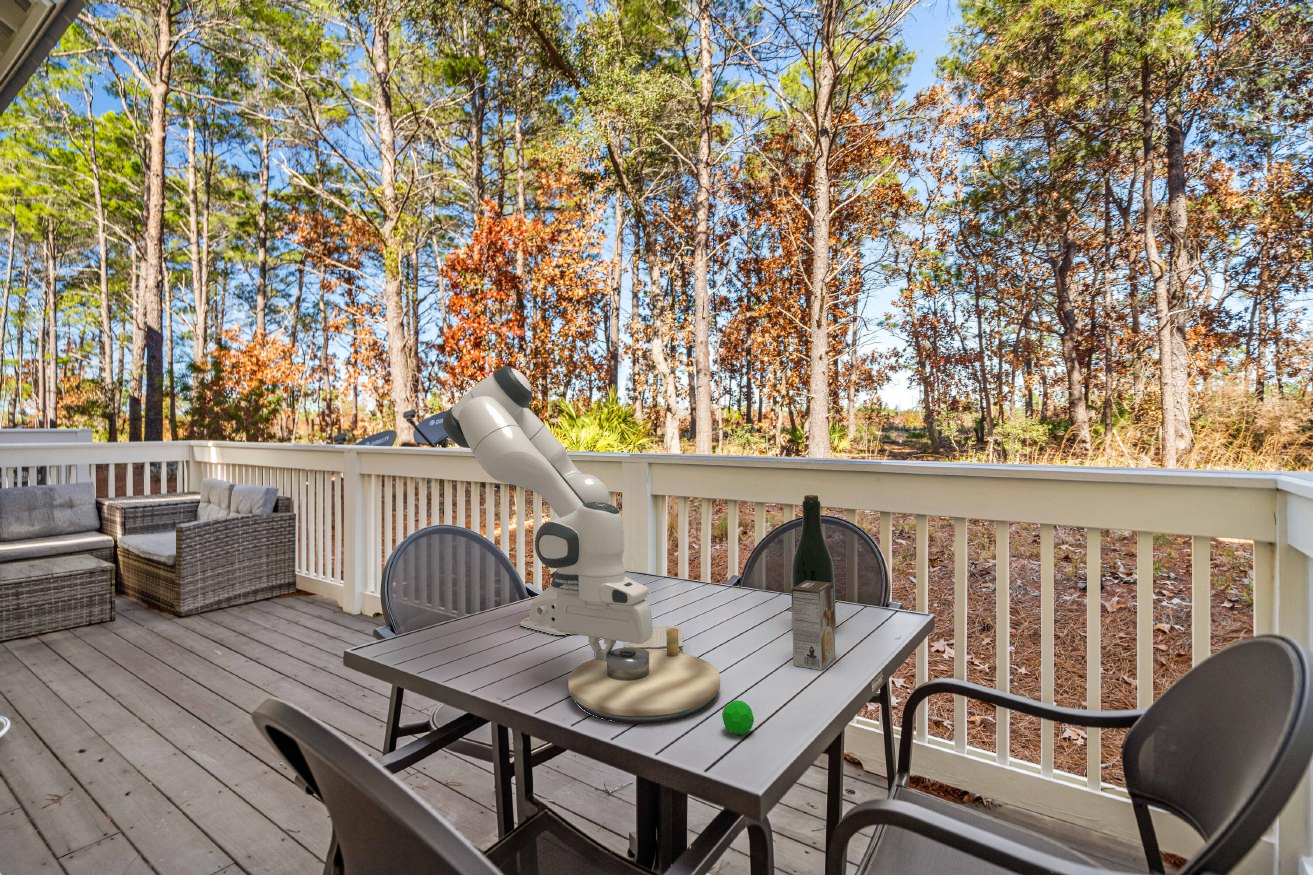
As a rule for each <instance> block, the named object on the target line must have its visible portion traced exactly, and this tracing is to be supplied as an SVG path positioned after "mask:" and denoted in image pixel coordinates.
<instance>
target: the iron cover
mask: <svg viewBox="0 0 1313 875" xmlns="http://www.w3.org/2000/svg"><path fill="white" fill-rule="evenodd" d="M648 675H649V652H648V651H647V650H645V649H642V648H636V647H624V646H623V647H618V648H615V649H612V650H611V651H610V652H608V653H607V676H608V677H610V678H612V679H615V680H620V681H632V680H638V679H642V678H644V677H646V676H648Z"/></svg>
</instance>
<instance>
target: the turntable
mask: <svg viewBox="0 0 1313 875" xmlns="http://www.w3.org/2000/svg"><path fill="white" fill-rule="evenodd" d="M666 634H667V651H648V652H649V675H648V676H646V677H644V678H642V679H638V680H632V681H620V680H615V679H612V678H610V677H608V676H607V662H604V661H599V660H594V658H593V659H590V660H588V661H586V662H583V663H582V664H580V665H579V666H576V667H575V668H574V669H573V670H572V671H571V673H570V674H569V676H568V680H567V681H568V682H567V683H568V686H567V687H568V694H569V695H570V697H571V698H572V700H574V702H575V701H576V702H578V703H579V704H581V705H583V706H585V707H587V708H590V709H593V710H596V711H599V712H603V713H608V714H614V715H623V716H656V715H665V714H672V713H677V712H682V711H685V710H689V709H692V708H695V707H698V706H700V705H702V704H704V703H706V702H708V701H709V700H711V699H712V698H713V697H714V696H716V695H717V694H718V693H719V691H720V688H721V674H720V671H719V669H717V668H716V667H715V665H713V664H712V663H710V662H709V661H707V660H704V659H702V658H700V657H696V656H693V655H690V654H686V653H683V652H682V653H679V647H678V629H675V628H670V629H667V630H666ZM714 698H715V697H714Z"/></svg>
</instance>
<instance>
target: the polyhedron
mask: <svg viewBox="0 0 1313 875" xmlns="http://www.w3.org/2000/svg"><path fill="white" fill-rule="evenodd" d="M721 716H722V721H723V725H724V728H725V729H726V730H727V731H728V732H729V733H731V734H733V735H738V736H742V735H744V734H746V733H747V732H748V731H750V730H751V729H752V728H753V725H754V721H755V718H754V714H753V711H752V708H751V707H750V705H748V704H747V703H746V702H745V701H743V700H733V701H731V702H730V703H729V704H727V705H726V706H724V707H723V710H722V713H721Z"/></svg>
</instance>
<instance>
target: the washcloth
mask: <svg viewBox="0 0 1313 875" xmlns="http://www.w3.org/2000/svg"><path fill="white" fill-rule="evenodd" d="M670 628H675V629H678V647H679V653H682V654H683V647H684V637H683V631H682V625H666V626H656V627H655V626H652V636H651V638H650V639H649V640H648V641H646V642H645V643H643V644H635V643H631V644H632V646H633V647H636V648H642V649H645V650H647V651H667V634H666V630H667V629H670Z"/></svg>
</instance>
